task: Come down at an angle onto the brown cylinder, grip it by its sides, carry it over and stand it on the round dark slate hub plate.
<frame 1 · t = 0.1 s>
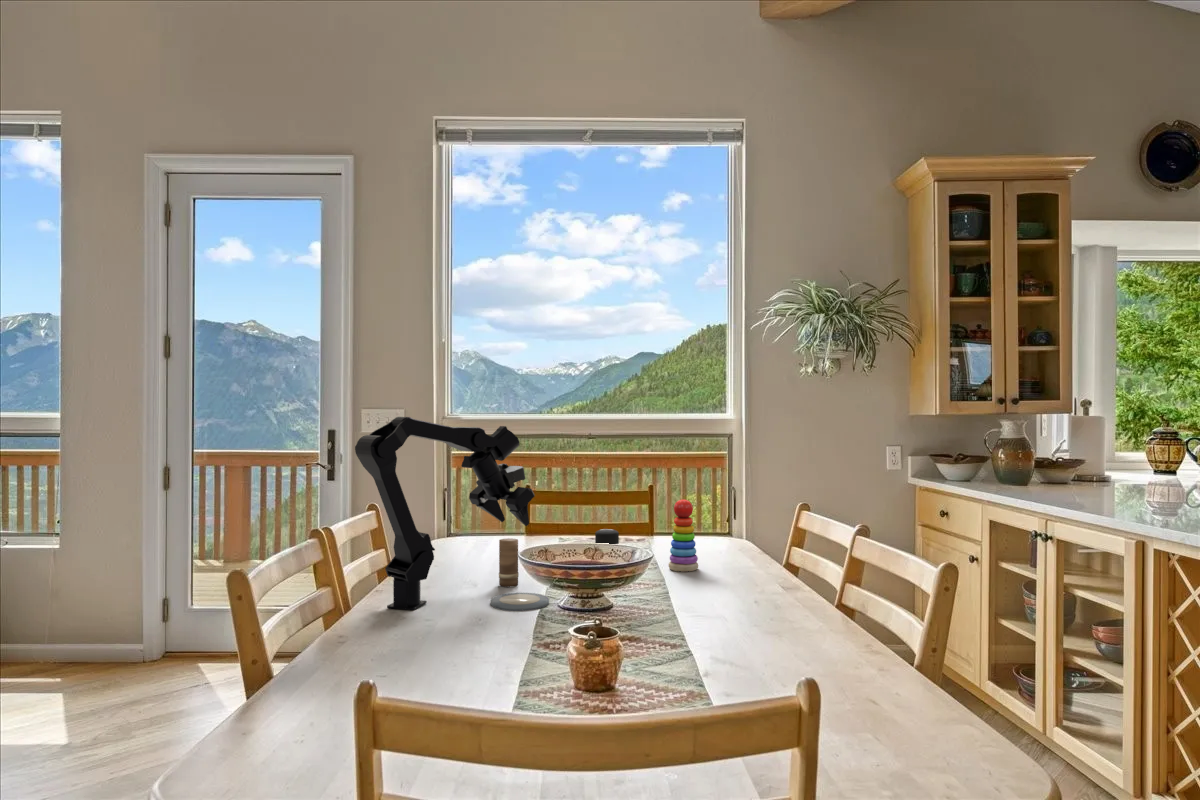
hand: (515, 522, 200), 15 cm above the table, tool tilted 35°, fingers open, 9 cm apart
stacking toy: (683, 569, 217), on the table
hub plate: (519, 603, 181), on the table
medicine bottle: (606, 577, 208), on the table
brown cylinder: (508, 584, 199), on the table
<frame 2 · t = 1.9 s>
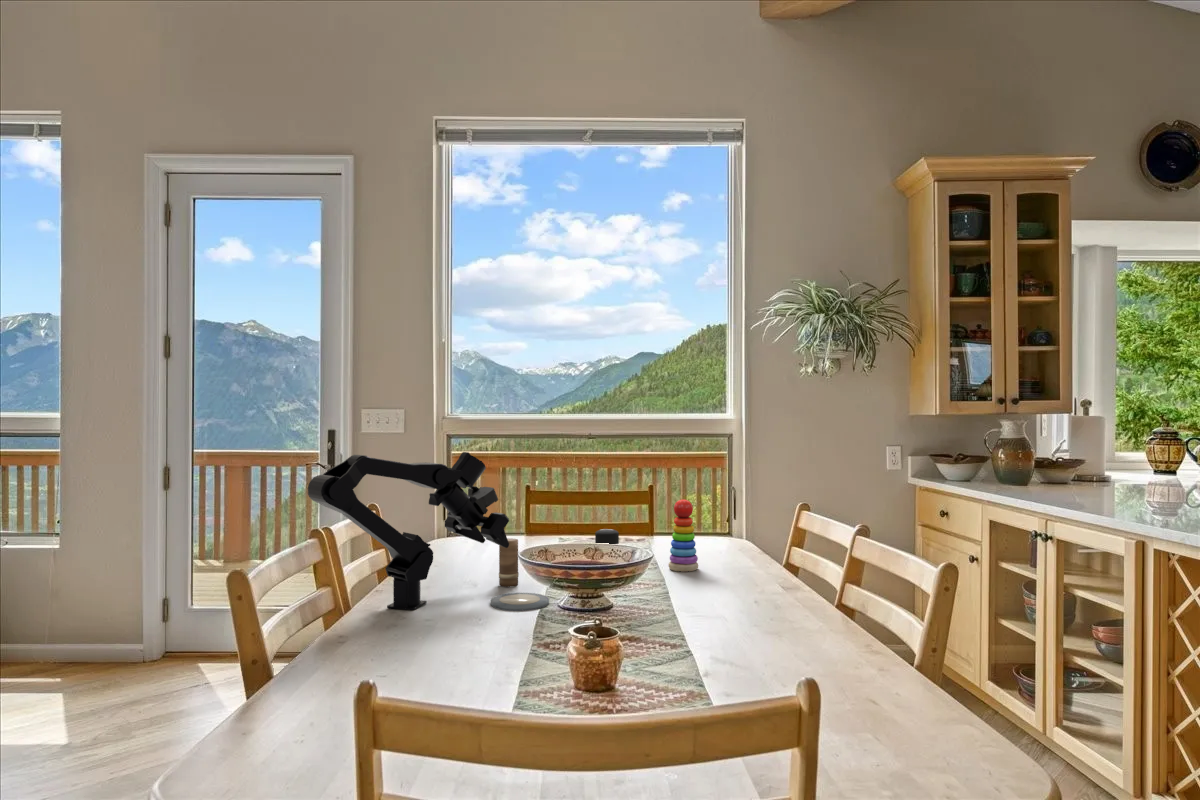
hand: (495, 544, 196), 11 cm above the table, tool tilted 45°, fingers open, 9 cm apart
nothing on the table moved.
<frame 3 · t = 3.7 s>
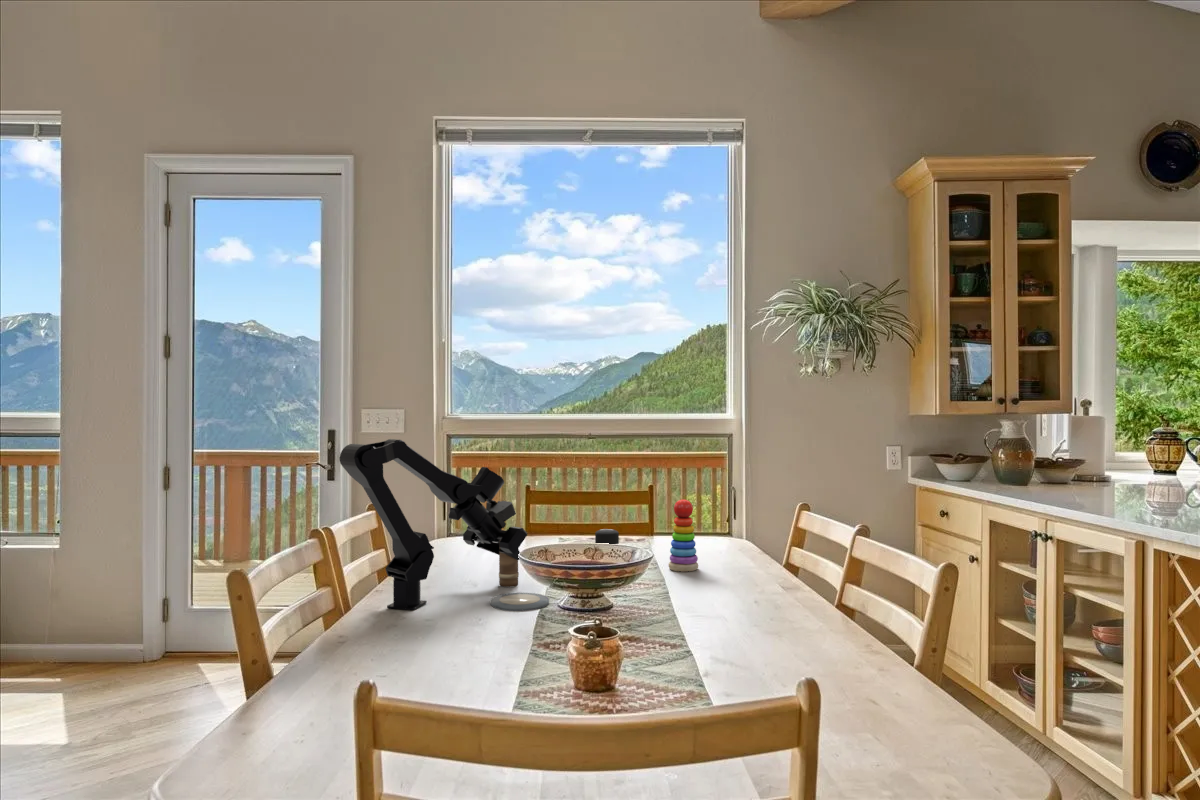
hand: (513, 557, 200), 7 cm above the table, tool tilted 45°, fingers closed on brown cylinder, 5 cm apart
brown cylinder: (508, 584, 199), on the table, touching gripper
everything else where it was.
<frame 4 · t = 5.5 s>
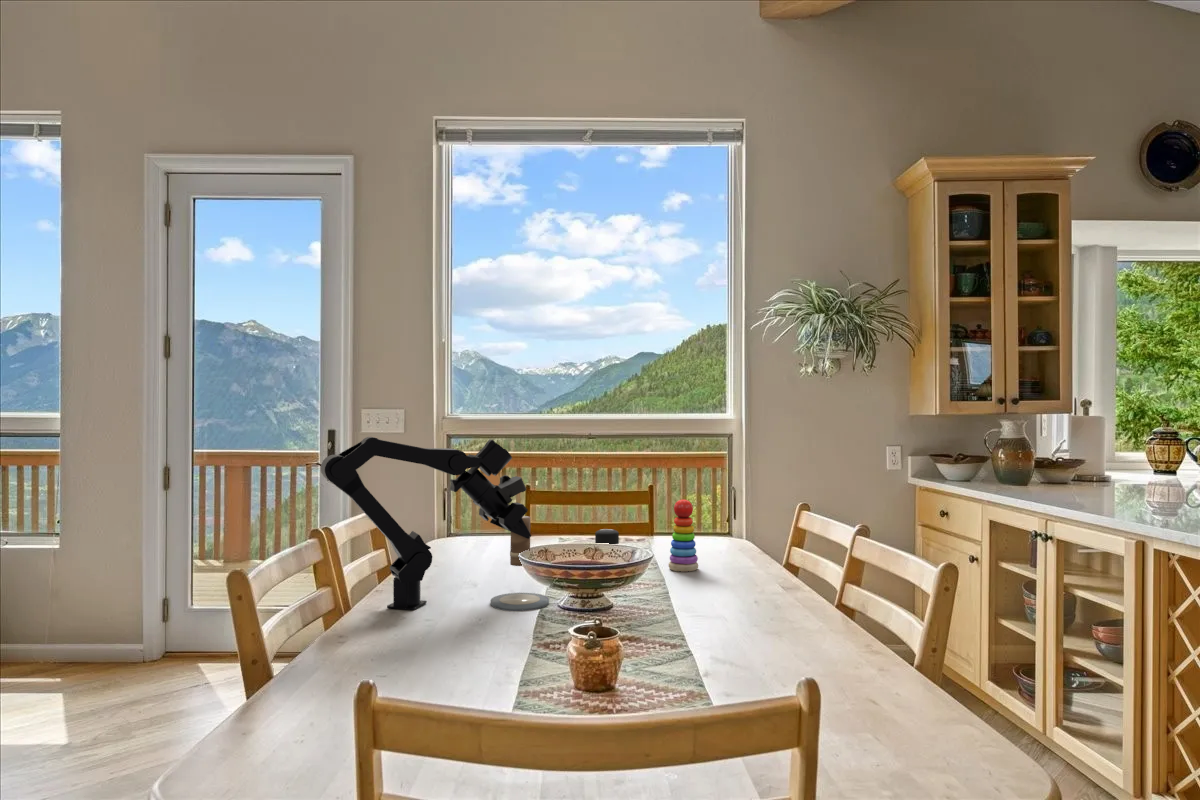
hand: (525, 535, 191), 13 cm above the table, tool tilted 45°, fingers closed on brown cylinder, 5 cm apart
brown cylinder: (520, 564, 190), point 7 cm above the table, touching gripper
everything else where it was.
when the fingers open (8 cm above the table, at t = 7.3 s): brown cylinder stays where it is, resting on hub plate.
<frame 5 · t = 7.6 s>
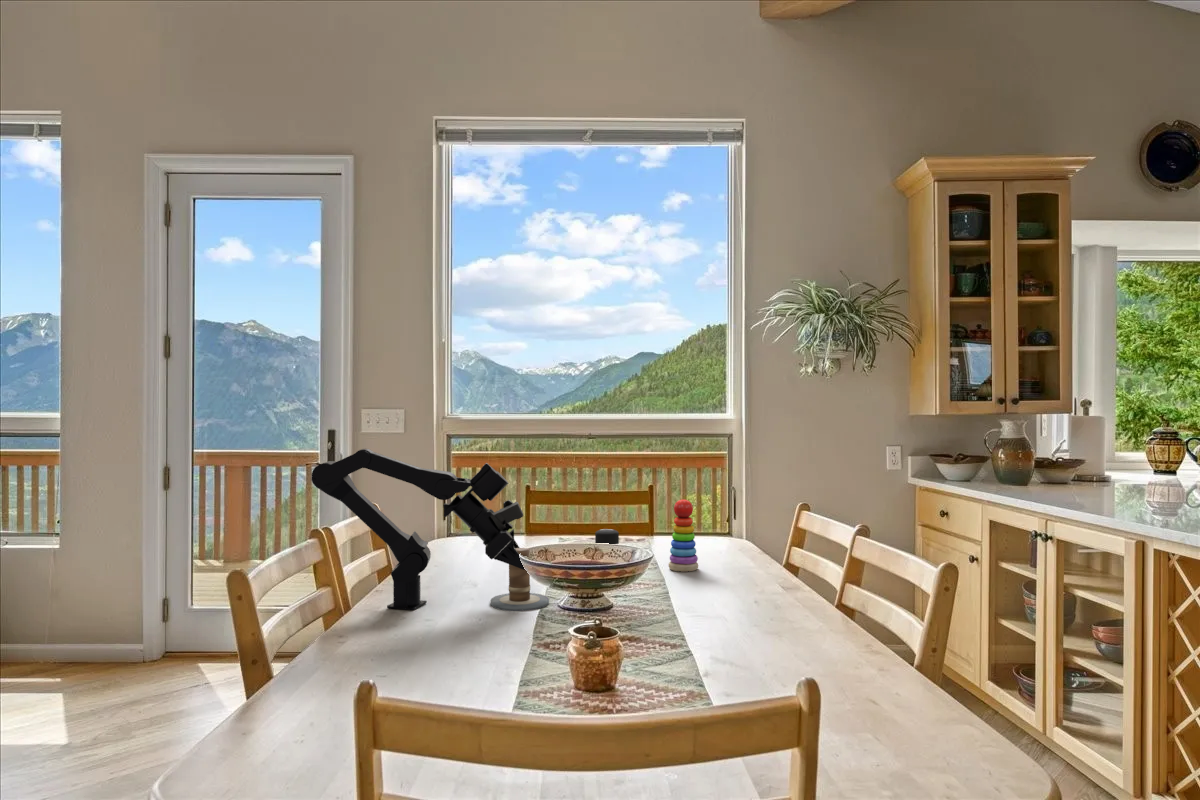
hand: (526, 564, 181), 9 cm above the table, tool tilted 45°, fingers open, 7 cm apart
brown cylinder: (519, 599, 181), point 1 cm above the table, touching hub plate
everything else where it was.
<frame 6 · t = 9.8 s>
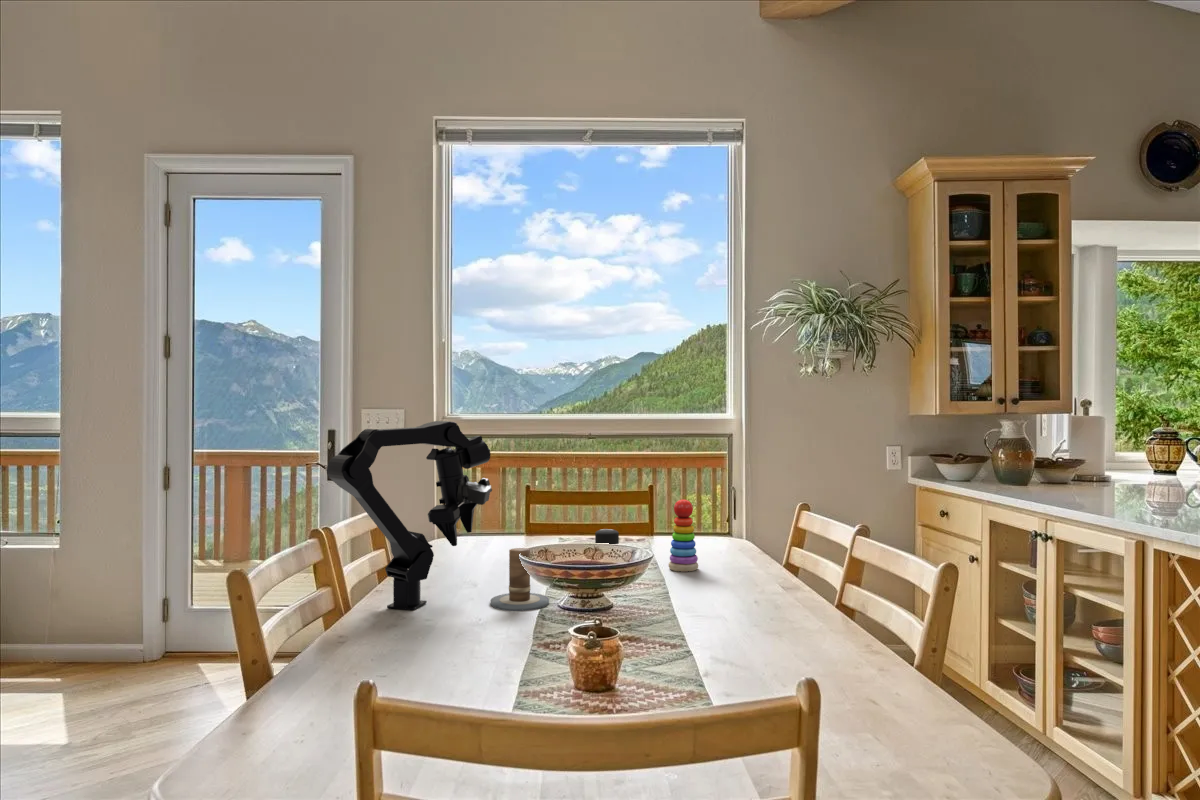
hand: (462, 538, 189), 13 cm above the table, tool pointing down, fingers open, 9 cm apart
nothing on the table moved.
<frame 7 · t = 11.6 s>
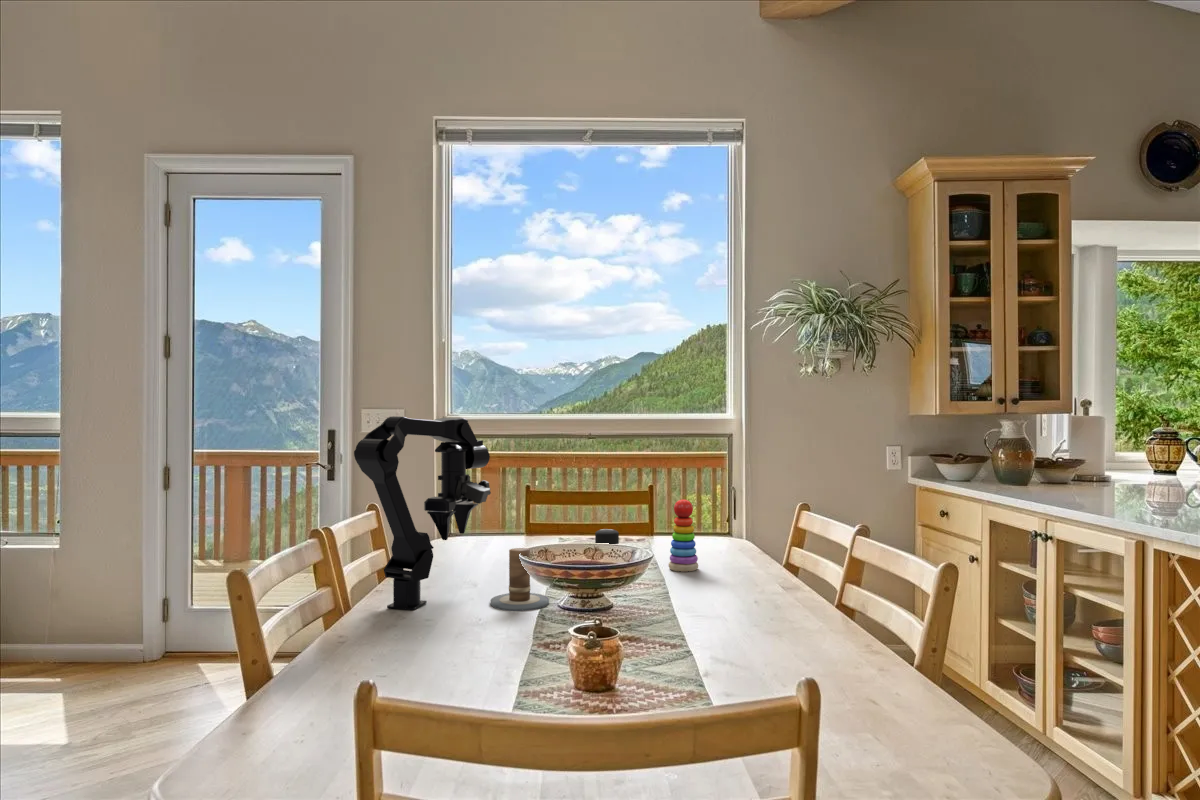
hand: (453, 536, 192), 13 cm above the table, tool pointing down, fingers open, 9 cm apart
nothing on the table moved.
at the end: brown cylinder 0.0 cm from the hub plate (horizontally); brown cylinder tilted 0°; the gripper is holding nothing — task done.
